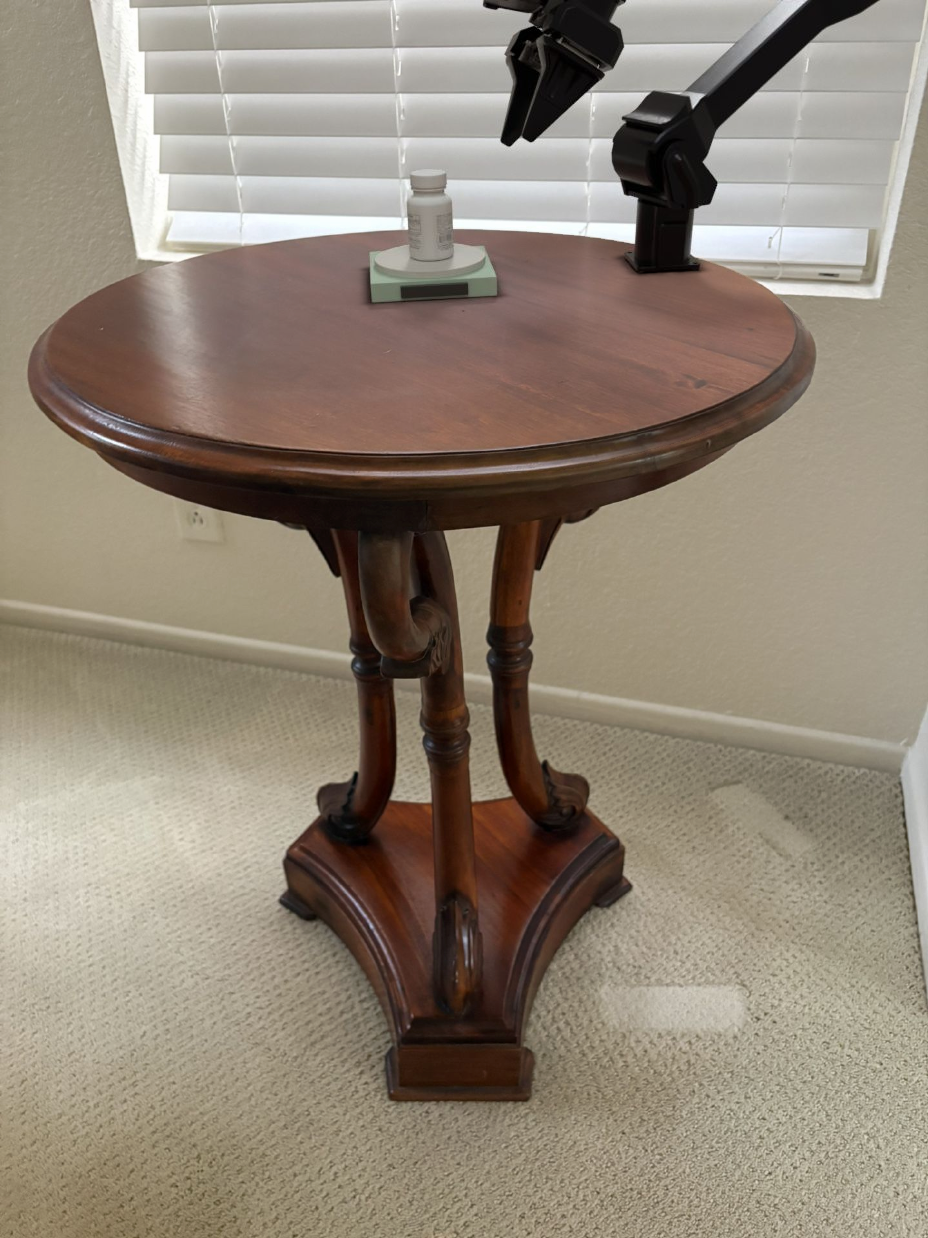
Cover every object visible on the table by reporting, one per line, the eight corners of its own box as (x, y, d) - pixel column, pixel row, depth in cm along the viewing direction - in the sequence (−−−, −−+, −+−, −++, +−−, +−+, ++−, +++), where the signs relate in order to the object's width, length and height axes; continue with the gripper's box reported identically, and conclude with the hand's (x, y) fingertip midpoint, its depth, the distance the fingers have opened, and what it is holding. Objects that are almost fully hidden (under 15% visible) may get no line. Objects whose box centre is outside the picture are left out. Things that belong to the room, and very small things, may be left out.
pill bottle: (455, 249, 101) (452, 166, 97) (452, 261, 98) (449, 175, 93) (411, 250, 102) (406, 167, 97) (407, 262, 98) (402, 176, 94)
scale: (370, 269, 106) (368, 244, 104) (484, 263, 106) (483, 238, 105) (372, 303, 95) (369, 277, 94) (497, 296, 96) (497, 270, 95)
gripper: (498, -65, 92) (422, 102, 97) (547, -123, 75) (452, 84, 80) (599, 3, 96) (521, 162, 100) (667, -37, 79) (570, 156, 83)
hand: (515, 142), depth 91 cm, fingers open, 9 cm apart
